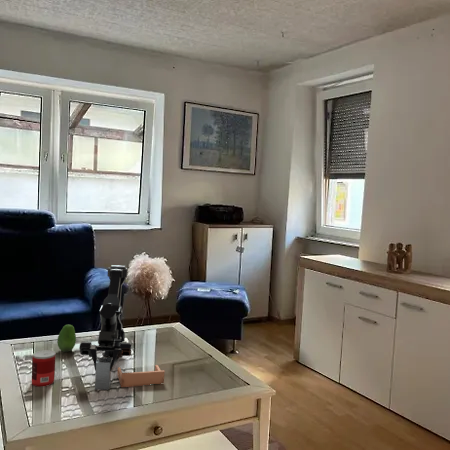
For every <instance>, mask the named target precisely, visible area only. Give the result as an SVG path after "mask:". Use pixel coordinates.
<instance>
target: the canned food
mask: <svg viewBox="0 0 450 450" xmlns="http://www.w3.org/2000/svg"><path fill="white" fill-rule="evenodd" d="M56 355H57V354H56V351H55V350H50V349H44V350H43V349H42V350H38V351H35V352H34V353H33V354H32V357H31V360H32V362H31V384H32V386H34V387H47V386H51V385H52V384H54V381H55V374H56V373H55V372H56V359H57V358H56Z"/></svg>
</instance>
